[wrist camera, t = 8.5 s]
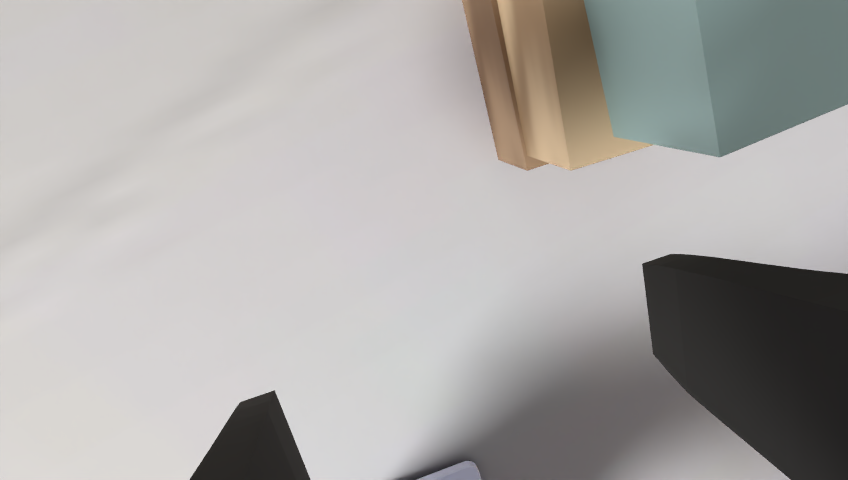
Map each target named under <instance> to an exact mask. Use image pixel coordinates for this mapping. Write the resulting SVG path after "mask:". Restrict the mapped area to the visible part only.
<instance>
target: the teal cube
mask: <svg viewBox="0 0 848 480" xmlns="http://www.w3.org/2000/svg"><path fill="white" fill-rule="evenodd" d="M584 4H585V8H586V13H587V18H588V22H589V27H590V31H591V36H592V40H593V45H594V49H595V54H596V58H597V63H598V67H599V72H600V77H601V81H602V86H603V90H604V95H605V99H606V104H607V108H608V113H609V117H610V122H611V126H612V131H613V136H614V137H617V138H622V139H628V140H633V141H638V142H643V143H649V144H654V145H659V146H664V147H669V148H675V149H680V150H685V151H690V152H695V153H701V154H706V155H711V156H716V157H722V156H724V155H727V154H729V153H732V152H734V151H736V150H739V149H741V148H744V147H746V146H748V145H751V144H753V143H756V142H758V141H760V140H763V139H765V138H768V137H770V136H772V135H775V134H777V133H780V132H782V131H784V130H787V129H789V128H792V127H794V126H796V125H799V124H801V123H804V122H806V121H808V120H811V119H813V118H816V117H818V116H821V115H823V114H825V113H828V112H830V111H833V110H835V109H837V108H840V107H842V106H845V105H847V104H848V0H584Z"/></svg>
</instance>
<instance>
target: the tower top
mask: <svg viewBox="0 0 848 480" xmlns="http://www.w3.org/2000/svg"><path fill="white" fill-rule="evenodd" d="M497 3H498V8H499V14H500V19H501V24H502V29H503V34H504V40H505V45H506V50H507V55H508V60H509V65H510V71H511V76H512V81H513V86H514V91H515V97H516V102H517V107H518V112H519V117H520V123H521V128H522V133H523V138H524V143H525V149H526V154H527V156H529V157H532V158H535V159H538V160H541V161H544V162H547V163H550V164H553V165H556V166H559V167H562V168H565V169H568V170H574V169H578V168H581V167H584V166H587V165H590V164H594V163H597V162H600V161H603V160H607V159H610V158H613V157H616V156H619V155H623V154H626V153H629V152H632V151H636V150H639V149H642V148H645V147H648V146H652V145H654V144H649V143H643V142H638V141H633V140H628V139H622V138H617V137H614V136H613V131H612V126H611V122H610V117H609V113H608V108H607V104H606V99H605V95H604V90H603V86H602V81H601V77H600V72H599V67H598V63H597V58H596V54H595V49H594V45H593V40H592V36H591V31H590V27H589V22H588V18H587V13H586V8H585V4H584V0H497Z"/></svg>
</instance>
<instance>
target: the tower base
mask: <svg viewBox="0 0 848 480" xmlns="http://www.w3.org/2000/svg"><path fill="white" fill-rule="evenodd" d="M462 2H463V6H464V11H465V15H466V19H467V24H468V28H469V33H470V37H471V41H472V46H473V50H474V54H475V59H476V63H477V68H478V72H479V76H480V81H481V85H482V90H483V94H484V98H485V103H486V107H487V111H488V116H489V120H490V125H491V129H492V133H493V138H494V142H495V147H496V151H497V155H498V160H501V161H503V162H506V163H509V164H511V165H514V166H517V167H519V168H522V169H524V170H531V169H534V168H537V167H540V166H543V165H546V164H549V163H547V162H544V161H541V160H538V159H535V158H532V157H529V156H527V154H526V149H525V143H524V138H523V133H522V128H521V123H520V117H519V112H518V107H517V102H516V97H515V91H514V86H513V81H512V76H511V71H510V65H509V60H508V55H507V50H506V45H505V40H504V34H503V29H502V24H501V19H500V14H499V8H498V3H497V0H462Z"/></svg>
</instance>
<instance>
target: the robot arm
mask: <svg viewBox="0 0 848 480" xmlns="http://www.w3.org/2000/svg"><path fill="white" fill-rule="evenodd" d="M642 265H643V274H644V282H645V290H646V298H647V307H648V315H649V323H650V331H651V339H652V348H653V354H654V355H655V357H656V358H657V359H658V360H659V361H660V362H661V364H662V365H663V366H664V367H665V368H666V369H667V370H668V372H669V373H670V374H671V375H672V376H673V377H674V378H675V379H676V380H677V381H678V383H679V384H680V385H681V386H682V387H683V388H684V389H685V390H686V391H687V392H688V393H689V394H690V395H691V396H692V397H694V398H695V399H696V400H697V401H698V402H699V403H700V404H702V405H703V406H704V407H705V408H706V409H707V410H709V411H710V412H711V413H712V414H713V415H714V416H716V417H717V418H718V419H719V420H720V421H722V422H723V423H724V424H725V425H726V426H727V427H729V428H730V429H731V430H732V431H733V432H735V433H736V434H737V435H738V436H739V437H741V438H742V439H743V440H744V441H745V442H747V443H748V444H749V445H750V446H751V447H753V448H754V449H755V450H756V451H757V452H759V453H760V454H761V455H762V456H763V457H765V458H766V459H767V460H768V461H769V462H771V463H772V464H773V465H774V466H775V467H777V468H778V469H779V470H780V471H781V472H783V473H784V474H785V475H786V476H787V477H788V478H790V479H791V480H848V274H843V273H833V272H823V271H814V270H806V269H798V268H790V267H782V266H775V265H767V264H760V263H753V262H745V261H738V260H731V259H723V258H715V257H707V256H698V255H685V254H669V255H667V256H664V257H661V258H658V259H655V260H652V261H649V262H646V263H643V264H642ZM190 480H310V478H309V475H308V473H307V470H306V468H305V465H304V463H303V460H302V458H301V455H300V453H299V450H298V448H297V445H296V443H295V440H294V438H293V435H292V433H291V430H290V428H289V425H288V423H287V420H286V418H285V415H284V413H283V410H282V408H281V405H280V403H279V400H278V398H277V395H276V393H275V390H274V391H272V392H269V393H266V394H263V395H260V396H257V397H254V398H251V399H248V400H245V401H243V402H240V403H239V405H238V406H237V407H236V409H235V410H234V412H233V413H232V415H231V416H230V418H229V420H228V421H227V423H226V424H225V426H224V427H223V429H222V431H221V432H220V434H219V435H218V437H217V439H216V440H215V442H214V443H213V445H212V446H211V448H210V450H209V451H208V453H207V454H206V456H205V457H204V459H203V460H202V462H201V463H200V465H199V466H198V468H197V469H196V471H195V472H194V474H193V475H192V477H191V478H190ZM417 480H481V476H480V472H479V470H478V468H477V466H476V464H475V463H474V462H472V461H464V462H461V463H458V464H456V465H453V466H451V467H448V468H445V469H443V470H440V471H437V472H435V473H432V474H430V475H427V476H424V477H422V478H419V479H417Z"/></svg>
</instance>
